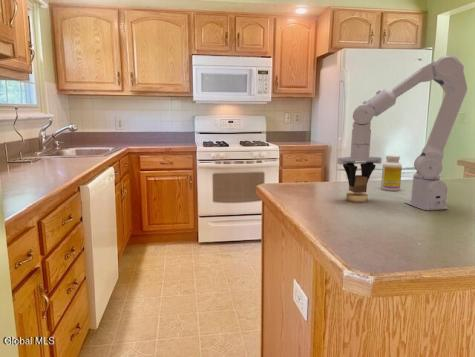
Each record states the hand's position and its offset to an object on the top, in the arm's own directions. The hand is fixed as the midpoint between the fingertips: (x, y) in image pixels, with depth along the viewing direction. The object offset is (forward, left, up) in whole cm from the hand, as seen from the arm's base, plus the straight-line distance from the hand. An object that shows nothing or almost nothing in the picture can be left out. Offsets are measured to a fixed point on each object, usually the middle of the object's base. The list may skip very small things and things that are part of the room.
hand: (357, 185), depth 115 cm
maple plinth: (0, 0, -5) cm, 5 cm away
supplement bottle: (+14, -22, -5) cm, 27 cm away
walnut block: (0, 0, -2) cm, 2 cm away
